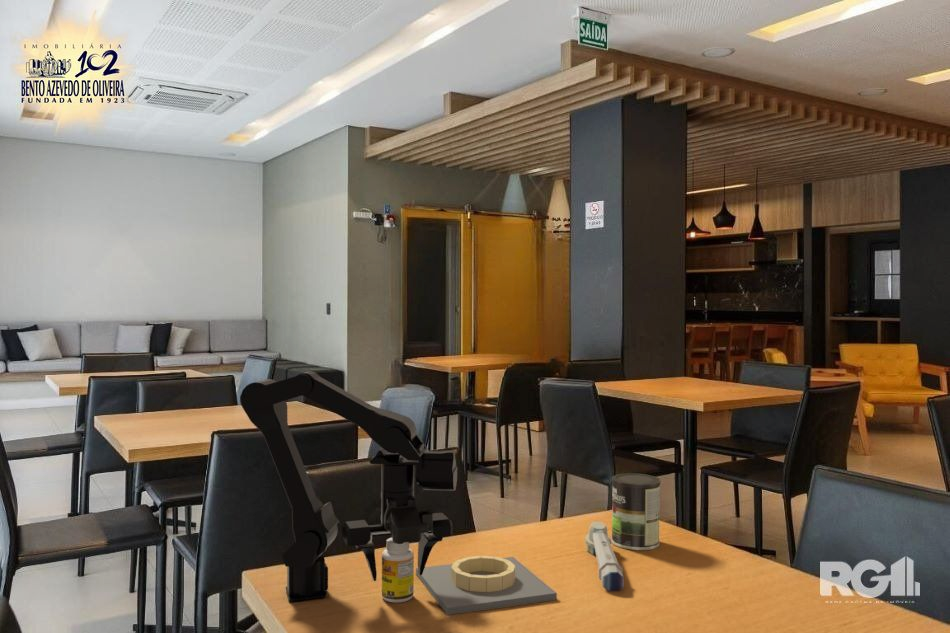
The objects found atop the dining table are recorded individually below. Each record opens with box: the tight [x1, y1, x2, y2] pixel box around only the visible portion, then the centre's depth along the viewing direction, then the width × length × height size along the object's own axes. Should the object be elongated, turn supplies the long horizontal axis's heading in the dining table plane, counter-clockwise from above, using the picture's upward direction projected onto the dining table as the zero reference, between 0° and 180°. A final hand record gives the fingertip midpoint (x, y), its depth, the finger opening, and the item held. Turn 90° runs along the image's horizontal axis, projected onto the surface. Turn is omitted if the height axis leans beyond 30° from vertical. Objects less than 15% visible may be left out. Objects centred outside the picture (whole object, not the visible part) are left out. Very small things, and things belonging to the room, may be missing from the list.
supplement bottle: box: [381, 537, 415, 604], centre depth 132 cm, size 6×6×10 cm
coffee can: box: [611, 472, 661, 552], centre depth 163 cm, size 10×10×14 cm
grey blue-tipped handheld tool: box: [584, 521, 625, 592], centre depth 148 cm, size 5×7×25 cm
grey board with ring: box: [415, 555, 558, 616], centre depth 138 cm, size 20×20×4 cm
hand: (397, 577), depth 132 cm, fingers open, 8 cm apart
